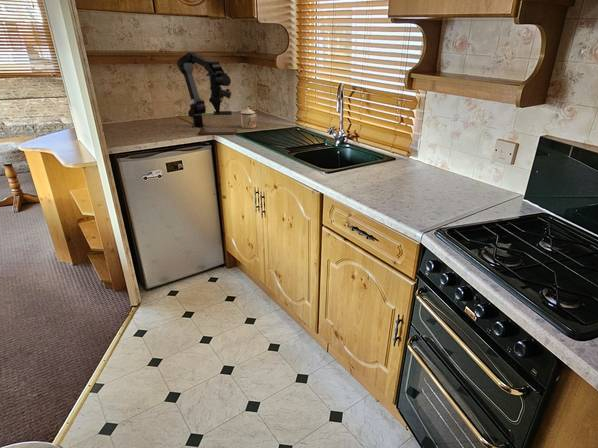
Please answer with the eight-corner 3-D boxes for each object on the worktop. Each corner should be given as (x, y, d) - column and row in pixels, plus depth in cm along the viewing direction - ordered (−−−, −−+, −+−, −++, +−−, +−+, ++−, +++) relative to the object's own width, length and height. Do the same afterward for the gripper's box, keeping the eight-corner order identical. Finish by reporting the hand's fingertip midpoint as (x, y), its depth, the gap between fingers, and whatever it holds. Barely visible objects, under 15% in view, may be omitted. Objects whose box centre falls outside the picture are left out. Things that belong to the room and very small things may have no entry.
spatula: (201, 116, 232) (200, 112, 231) (202, 114, 237) (202, 110, 236) (231, 115, 234) (231, 111, 233) (232, 113, 240) (231, 110, 239)
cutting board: (200, 131, 236) (200, 129, 235) (235, 131, 239) (235, 128, 238) (198, 135, 228) (198, 132, 227) (234, 134, 230) (234, 131, 230)
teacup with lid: (249, 129, 244) (247, 109, 239) (238, 127, 248) (236, 107, 244) (262, 126, 253) (261, 106, 248) (251, 124, 258) (250, 105, 253)
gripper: (228, 86, 222) (231, 115, 228) (231, 83, 238) (233, 110, 245) (207, 86, 220) (210, 115, 227) (211, 83, 237) (214, 110, 243)
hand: (218, 113), depth 235 cm, fingers closed on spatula, 2 cm apart
